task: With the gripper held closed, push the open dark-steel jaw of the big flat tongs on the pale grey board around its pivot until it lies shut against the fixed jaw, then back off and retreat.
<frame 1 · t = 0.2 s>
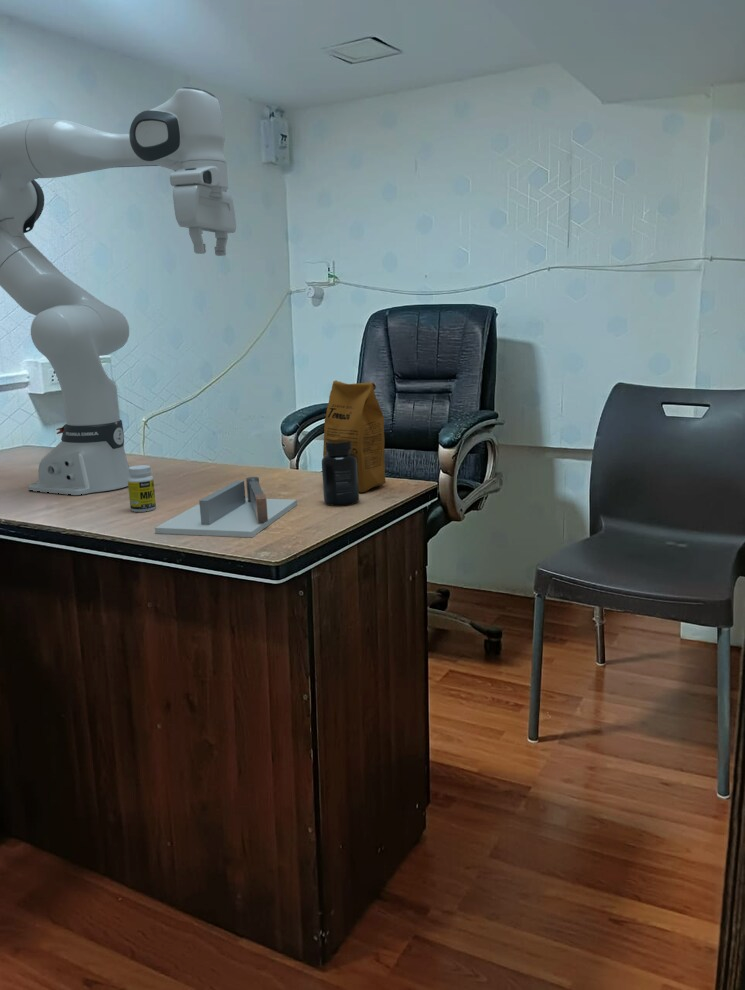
hand: (210, 254, 158), 48 cm above the table, tool pointing down, fingers open, 8 cm apart
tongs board: (230, 518, 146), on the table
supplement bottle 2: (143, 510, 155), on the table
tongs jaw: (257, 500, 145), point 3 cm above the table, hinge at 28.0°
supplement bottle: (341, 503, 155), on the table
coffee package: (354, 487, 168), on the table
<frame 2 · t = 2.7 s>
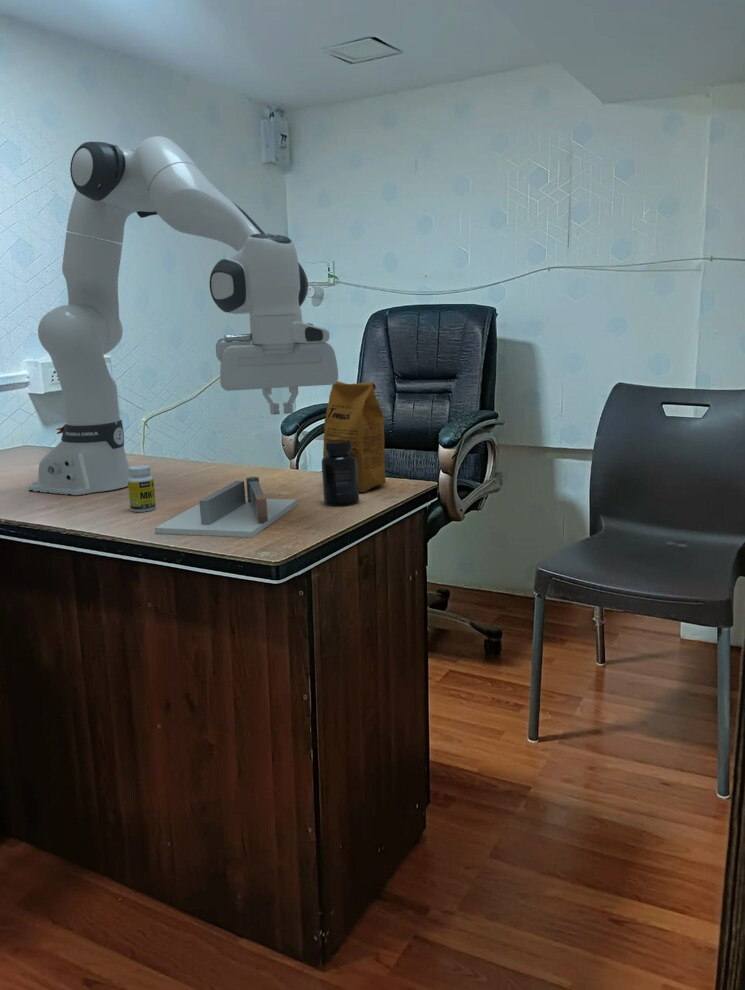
hand: (281, 413, 140), 19 cm above the table, tool pointing down, fingers closed
nothing on the table moved.
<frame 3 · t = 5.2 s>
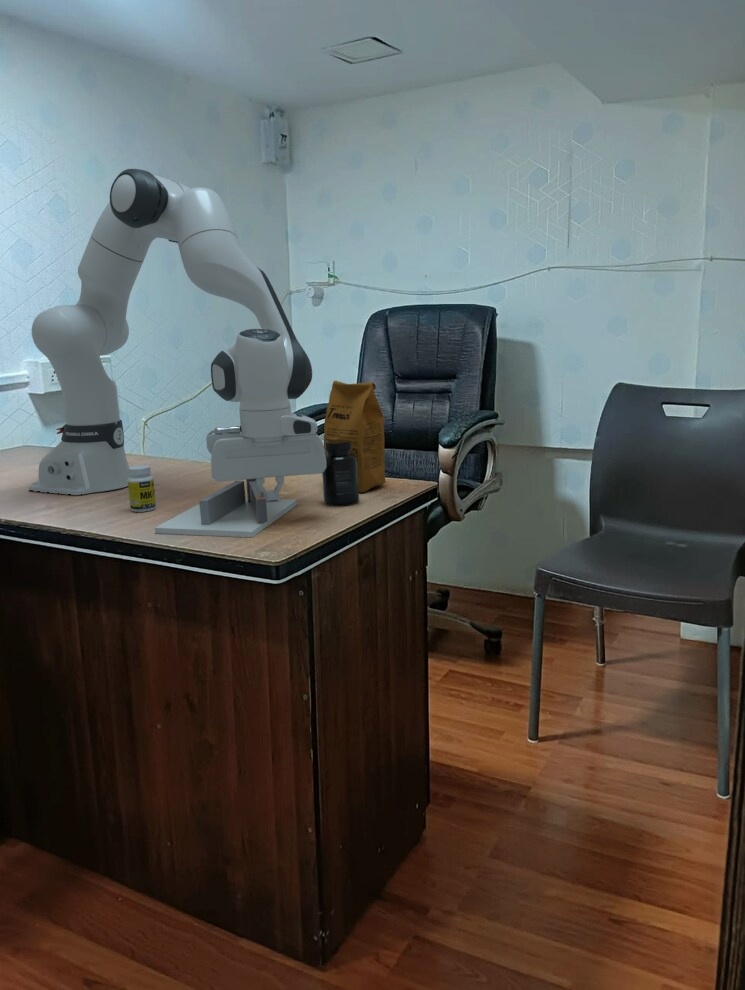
hand: (271, 501, 143), 4 cm above the table, tool pointing down, fingers closed
tongs jaw: (257, 500, 145), point 3 cm above the table, hinge at 27.8°, touching gripper
everything else where it was.
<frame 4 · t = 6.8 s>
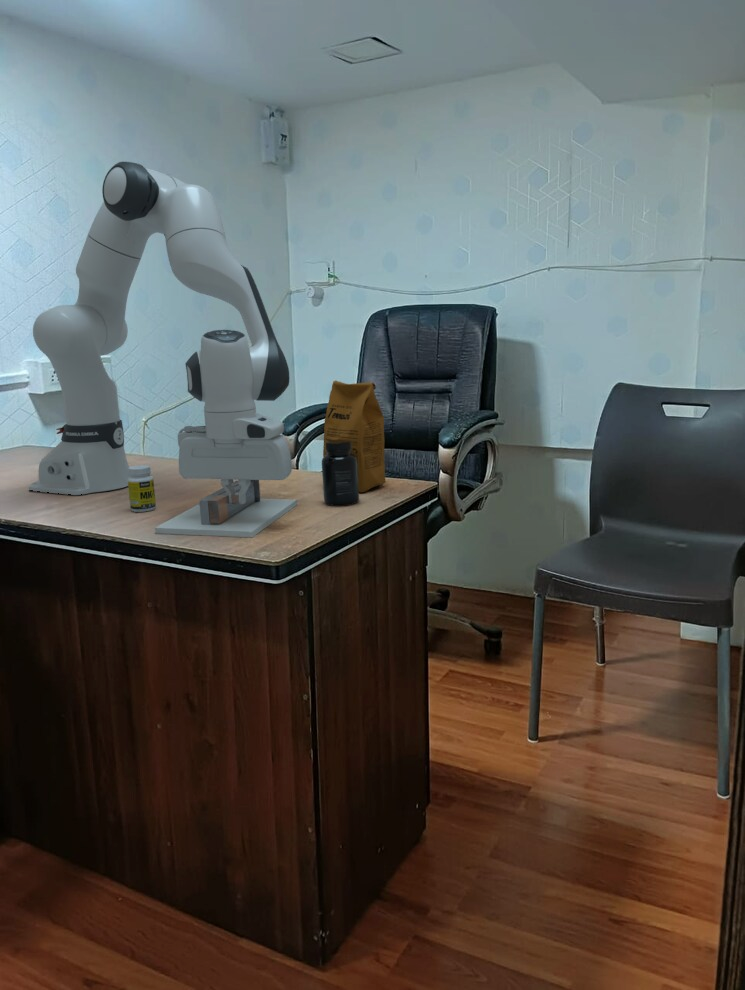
hand: (237, 503, 142), 4 cm above the table, tool pointing down, fingers closed
tongs jaw: (233, 500, 145), point 3 cm above the table, hinge at -0.2°, touching gripper
everything else where it was.
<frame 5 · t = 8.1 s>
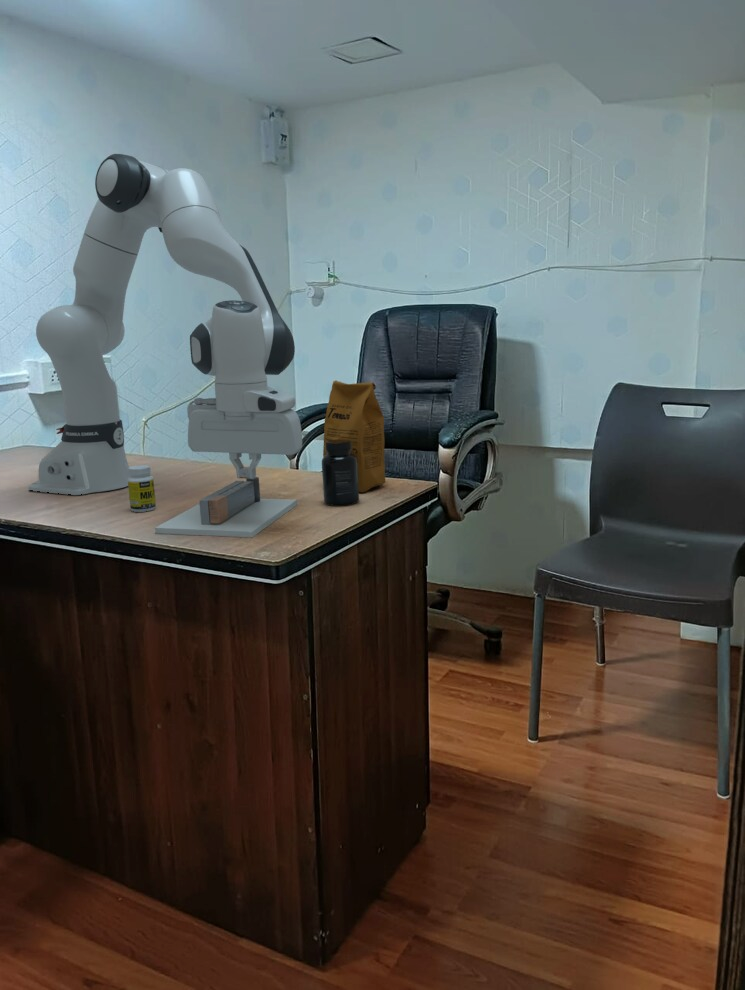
hand: (246, 478, 140), 8 cm above the table, tool pointing down, fingers closed
tongs jaw: (233, 500, 145), point 3 cm above the table, hinge at -0.2°
everything else where it was.
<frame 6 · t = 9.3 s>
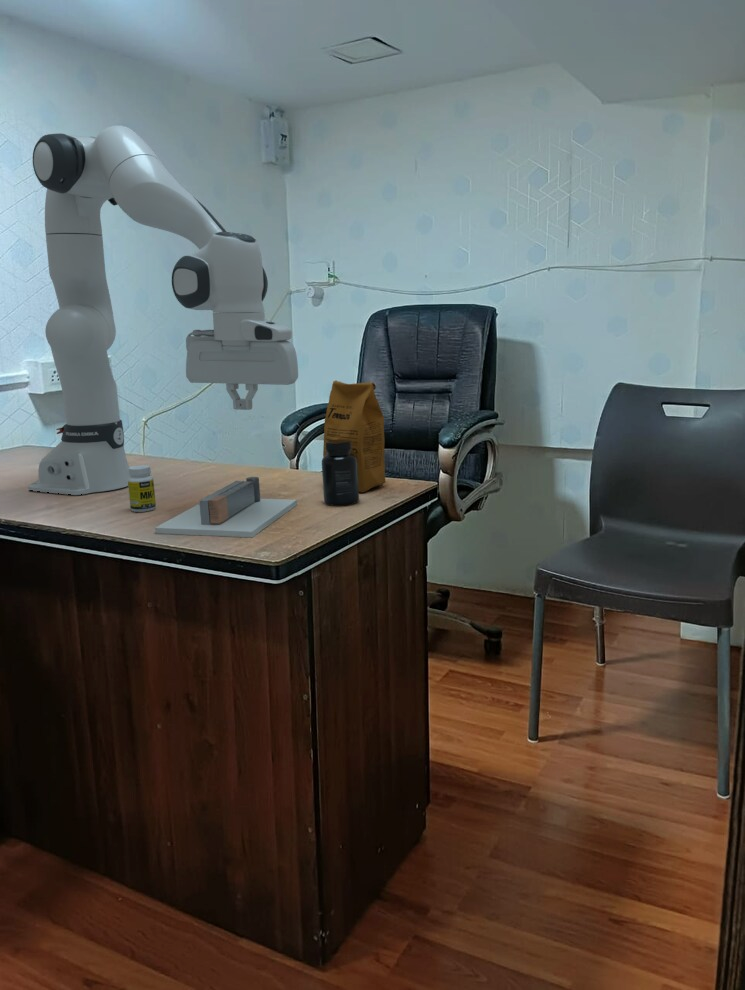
hand: (243, 409, 142), 20 cm above the table, tool pointing down, fingers closed
nothing on the table moved.
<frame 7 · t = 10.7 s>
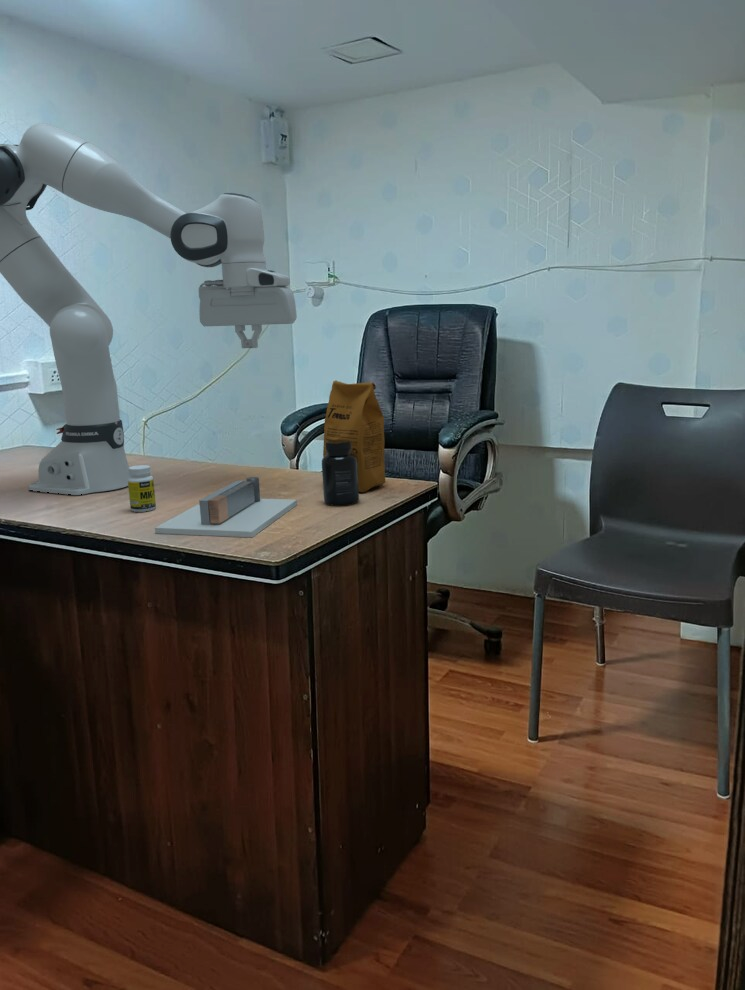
hand: (249, 348, 165), 29 cm above the table, tool pointing down, fingers closed
nothing on the table moved.
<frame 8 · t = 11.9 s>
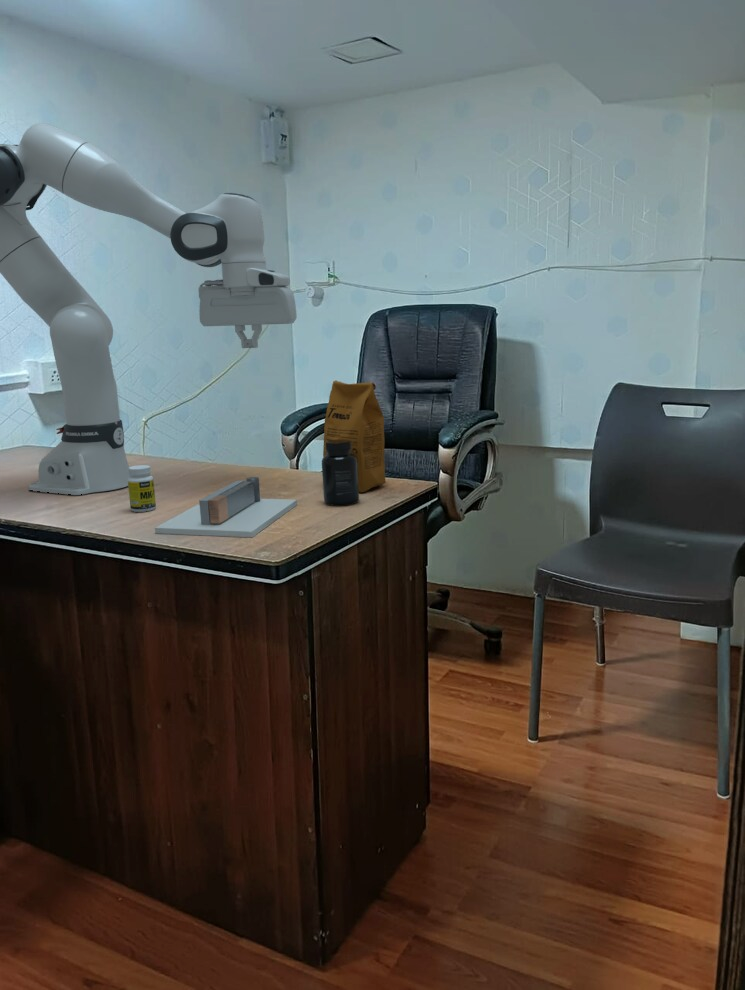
hand: (249, 348, 165), 29 cm above the table, tool pointing down, fingers closed
nothing on the table moved.
at the end: tongs jaw at +0° (first picture: +28°); the gripper is holding nothing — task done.
